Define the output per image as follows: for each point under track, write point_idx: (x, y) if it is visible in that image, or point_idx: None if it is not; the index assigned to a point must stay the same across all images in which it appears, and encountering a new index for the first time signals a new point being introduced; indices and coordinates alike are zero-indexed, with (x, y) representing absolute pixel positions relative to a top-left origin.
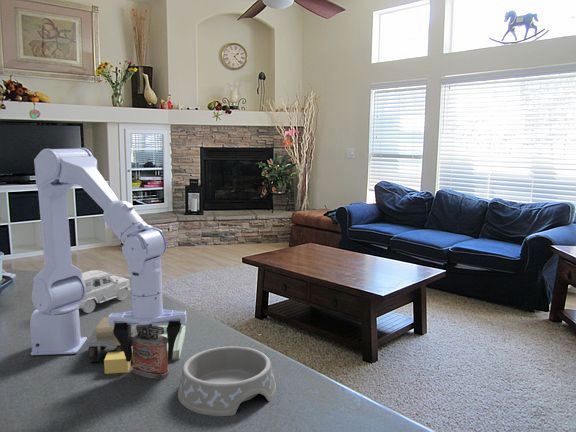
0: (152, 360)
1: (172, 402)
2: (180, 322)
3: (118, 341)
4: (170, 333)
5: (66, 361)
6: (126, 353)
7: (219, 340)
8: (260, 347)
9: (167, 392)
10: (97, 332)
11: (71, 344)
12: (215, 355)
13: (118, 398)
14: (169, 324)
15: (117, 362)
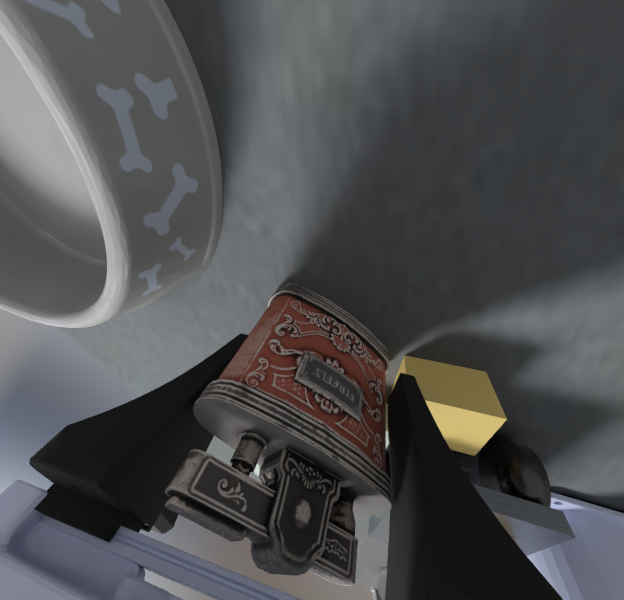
0: (305, 341)
1: (222, 53)
2: (34, 501)
3: None
4: (122, 434)
5: (591, 471)
6: (419, 407)
7: None
8: (94, 353)
9: (259, 169)
10: None
11: None
12: (86, 300)
13: (478, 158)
14: (114, 513)
15: (446, 394)
